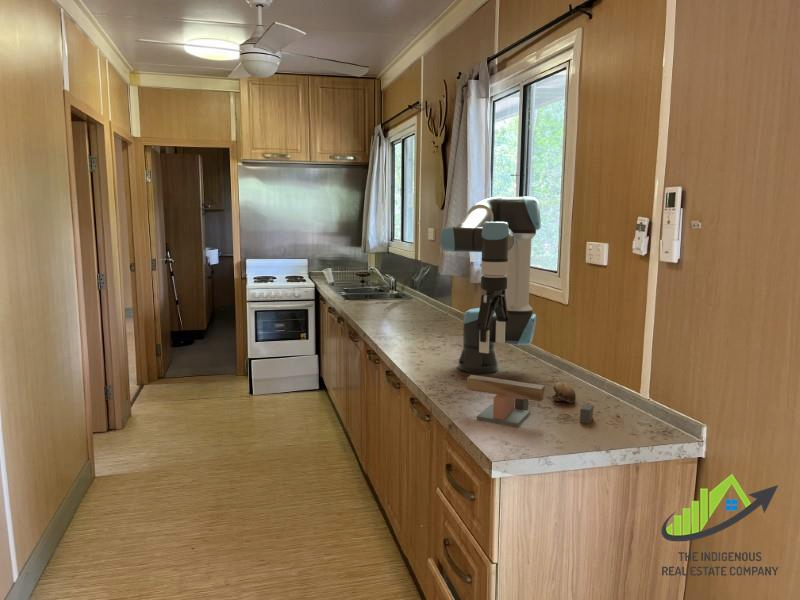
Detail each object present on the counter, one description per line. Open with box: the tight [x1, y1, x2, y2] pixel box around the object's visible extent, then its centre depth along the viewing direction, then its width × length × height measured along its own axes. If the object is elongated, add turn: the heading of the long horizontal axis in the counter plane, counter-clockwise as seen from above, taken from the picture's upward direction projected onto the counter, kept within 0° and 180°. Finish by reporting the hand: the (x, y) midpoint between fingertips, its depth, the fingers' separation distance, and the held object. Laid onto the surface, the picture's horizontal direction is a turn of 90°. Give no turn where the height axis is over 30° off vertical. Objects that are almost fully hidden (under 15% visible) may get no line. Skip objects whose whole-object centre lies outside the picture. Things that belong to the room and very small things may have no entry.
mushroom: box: [551, 381, 577, 404], centre depth 178 cm, size 8×8×6 cm
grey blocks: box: [514, 398, 594, 425], centre depth 166 cm, size 5×22×4 cm, turn 61°
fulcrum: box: [476, 394, 531, 428], centre depth 164 cm, size 12×12×7 cm
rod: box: [466, 374, 546, 402], centre depth 163 cm, size 4×22×4 cm, turn 61°
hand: (492, 347), depth 166 cm, fingers open, 13 cm apart
